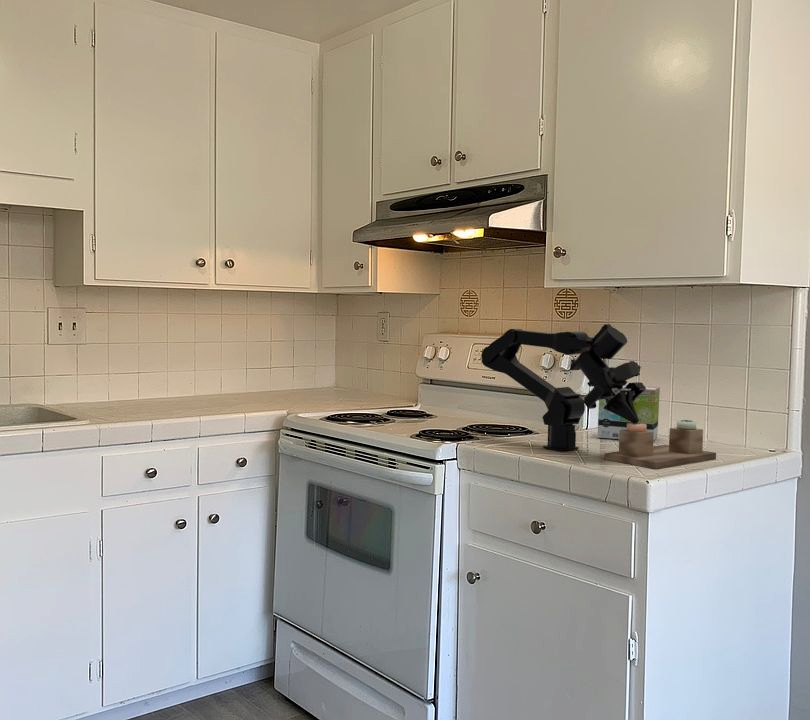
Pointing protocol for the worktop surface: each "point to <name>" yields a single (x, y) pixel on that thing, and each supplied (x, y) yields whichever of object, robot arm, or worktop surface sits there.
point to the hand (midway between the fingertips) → (636, 422)
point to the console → (660, 449)
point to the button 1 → (636, 427)
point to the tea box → (644, 409)
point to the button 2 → (686, 424)
